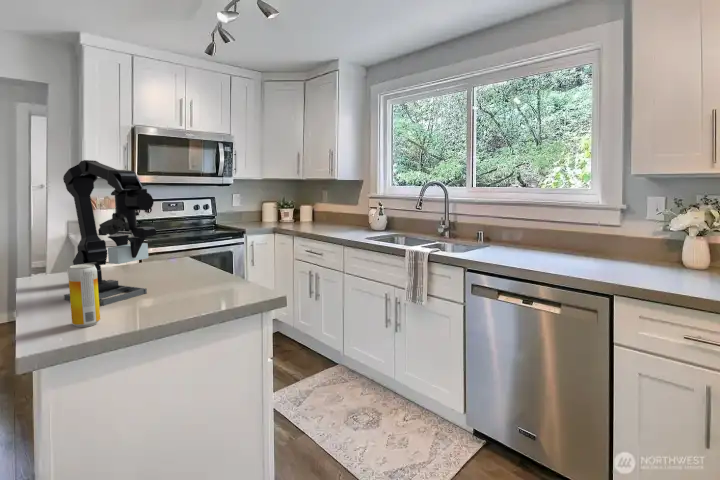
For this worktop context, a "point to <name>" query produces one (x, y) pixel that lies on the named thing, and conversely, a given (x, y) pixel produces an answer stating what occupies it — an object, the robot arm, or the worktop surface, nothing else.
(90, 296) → the beer can
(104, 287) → the rack
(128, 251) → the panel
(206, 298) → the worktop surface
